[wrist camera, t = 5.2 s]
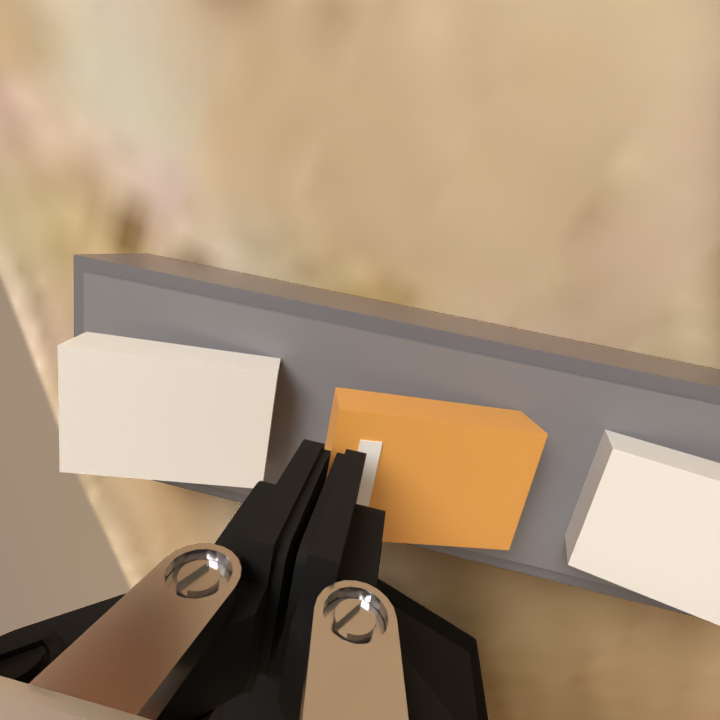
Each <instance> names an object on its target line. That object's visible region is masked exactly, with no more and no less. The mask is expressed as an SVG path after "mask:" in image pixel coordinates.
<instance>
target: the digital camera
mask: <svg viewBox="0 0 720 720" xmlns="http://www.w3.org/2000/svg"><path fill="white" fill-rule="evenodd" d="M377 589H378V590H379V591H381V592H382V593H383V594H384V595H385V596H386V597H387V598H388V599H389V601H390V603H391V604H392V606H393V607H394V610H395V614H396V617H397V623H398V632H399V640H400V649H401V652H402V654H403V655H404V656H405V657H406V659H407V660H408V661H409V662H410V663H411V665H412V666H413V667H414V668H415V670H416V671H417V672H418V673H419V675H420V676H421V677H422V678H423V680H424V681H425V682H426V683H427V685H428V686H429V687H430V688H431V690H432V691H433V692H434V693H435V695H436V696H437V697H438V698H439V700H440V701H441V702H442V703H443V705H444V706H445V707H446V708H447V710H448V711H449V712H450V713H451V715H452V716H453V717H454V718H455V720H488V716H487V709H486V702H485V696H484V689H483V682H482V676H481V669H480V662H479V656H478V649H477V643H476V640H475V639H474V638H472V637H471V636H469V635H468V634H466V633H465V632H463V631H461V630H460V629H458V628H457V627H455V626H454V625H452V624H450V623H449V622H447V621H445V620H444V619H442V618H441V617H439V616H437V615H436V614H434V613H433V612H431V611H429V610H428V609H426V608H424V607H423V606H421V605H420V604H418V603H416V602H415V601H413V600H412V599H410V598H408V597H407V596H405V595H403V594H402V593H400V592H399V591H397V590H395V589H394V588H392V587H391V586H389V585H387V584H386V583H384V582H382V581H381V580H379V579H378V580H377ZM282 637H283V636H282ZM281 642H282V638H281V641H280V644H279V647H278V650H277V653H276V655H275V658H274V661H273V664H272V667H271V670H270V672H269V675H268V677H265V676H261V675H258V677H257V680H256V682H255V685H254V688H253V690H252V693H251V694H247V693H244V692H243V693H242V694H240V695H238V696H236V697H234V698H232V699H231V700H229V701H227V702H225V703H224V708H223V711H222V713H221V716H220V718H219V720H286V719H285V717H284V715H283V713H282V711H281V709H280V707H279V705H278V703H277V701H278V695H279V689H280V683H281V681H279V680H276V679H275V678H276V672H277V666H278V660H279V654H280V648H281Z"/></svg>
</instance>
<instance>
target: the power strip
mask: <svg viewBox="0 0 720 720" xmlns="http://www.w3.org/2000/svg"><path fill="white" fill-rule="evenodd" d="M85 332H93V333H100V334H107V335H115V336H122V337H129V338H136V339H144V340H151V341H158V342H166V343H173V344H180V345H187V346H195V347H202V348H209V349H216V350H224V351H231V352H238V353H245V354H253V355H260V356H267V357H275V358H281V360H280V367H279V375H278V382H277V389H276V397H275V404H274V411H273V419H272V426H271V434H270V441H269V448H268V456H267V463H266V469H265V475H264V480H263V481H264V482H268V483H273V484H277V482H278V480H279V479H280V477H281V475H282V474H283V472H284V470H285V469H286V467H287V466H288V464H289V462H290V461H291V459H292V457H293V456H294V454H295V452H296V451H297V449H298V447H299V446H300V444H301V443H302V441H303V440H304V439H307V440H311V441H315V442H320V443H324V444H325V443H326V438H327V432H328V427H329V421H330V415H331V410H332V404H333V398H334V393H335V387H339V388H347V389H355V390H363V391H370V392H378V393H386V394H394V395H401V396H409V397H417V398H425V399H432V400H440V401H448V402H456V403H463V404H471V405H479V406H487V407H494V408H502V409H510V410H518V411H522V412H523V413H524V414H525V415H526V416H527V417H529V418H530V419H531V420H532V421H533V422H534V423H536V424H537V425H538V426H539V427H540V428H541V429H543V430H544V431H545V432H546V433H547V434H548V436H547V439H546V442H545V445H544V448H543V451H542V454H541V457H540V460H539V463H538V466H537V469H536V472H535V475H534V478H533V481H532V484H531V487H530V489H529V492H528V495H527V498H526V501H525V504H524V507H523V510H522V513H521V516H520V519H519V522H518V525H517V528H516V531H515V534H514V537H513V540H512V543H511V546H510V549H509V550H498V549H484V548H469V547H454V546H440V545H425V544H410V543H404V544H408V545H412V546H416V547H420V548H424V549H428V550H432V551H436V552H440V553H444V554H448V555H452V556H456V557H460V558H464V559H468V560H472V561H476V562H480V563H484V564H488V565H492V566H496V567H500V568H504V569H508V570H512V571H516V572H520V573H524V574H528V575H532V576H536V577H540V578H544V579H548V580H552V581H556V582H560V583H564V584H568V585H572V586H576V587H579V588H583V589H587V590H591V591H595V592H599V593H603V594H607V595H611V596H615V597H619V598H623V599H627V600H631V601H635V602H639V603H643V604H647V605H651V606H655V607H659V608H663V609H667V610H671V611H675V612H679V613H683V614H687V615H691V616H694V615H692V614H689V613H687V612H684V611H682V610H679V609H677V608H674V607H672V606H669V605H667V604H664V603H662V602H659V601H657V600H654V599H652V598H649V597H647V596H644V595H642V594H639V593H637V592H634V591H632V590H629V589H627V588H624V587H622V586H619V585H617V584H614V583H612V582H609V581H607V580H605V579H602V578H600V577H597V576H595V575H592V574H590V573H587V572H585V571H582V570H580V569H577V568H575V567H572V566H570V565H568V562H567V552H566V542H565V533H566V531H567V528H568V526H569V523H570V520H571V518H572V515H573V512H574V510H575V507H576V504H577V502H578V499H579V496H580V494H581V491H582V488H583V486H584V483H585V480H586V478H587V475H588V473H589V470H590V467H591V465H592V462H593V459H594V457H595V454H596V451H597V449H598V446H599V443H600V441H601V438H602V435H603V433H604V430H609V431H612V432H616V433H619V434H622V435H626V436H629V437H633V438H636V439H640V440H643V441H646V442H650V443H653V444H657V445H660V446H663V447H667V448H670V449H674V450H677V451H680V452H684V453H687V454H691V455H694V456H697V457H701V458H704V459H708V460H711V461H714V462H718V463H720V370H719V369H714V368H709V367H704V366H699V365H694V364H689V363H684V362H679V361H674V360H669V359H665V358H660V357H655V356H650V355H645V354H640V353H635V352H630V351H625V350H620V349H615V348H610V347H605V346H600V345H595V344H590V343H586V342H581V341H576V340H571V339H566V338H561V337H556V336H551V335H546V334H541V333H536V332H531V331H526V330H521V329H516V328H512V327H507V326H502V325H497V324H492V323H487V322H482V321H477V320H472V319H467V318H462V317H457V316H452V315H447V314H442V313H438V312H433V311H428V310H423V309H418V308H413V307H408V306H403V305H398V304H393V303H388V302H383V301H378V300H373V299H368V298H364V297H359V296H354V295H349V294H344V293H339V292H334V291H329V290H324V289H319V288H314V287H309V286H304V285H299V284H294V283H289V282H285V281H280V280H275V279H270V278H265V277H260V276H255V275H250V274H245V273H240V272H235V271H230V270H225V269H220V268H215V267H211V266H206V265H201V264H196V263H191V262H186V261H181V260H176V259H171V258H166V257H161V256H156V255H151V254H74V337H76V336H78V335H80V334H83V333H85ZM324 449H325V447H324ZM154 481H158V482H162V483H166V484H170V485H174V486H178V487H181V488H185V489H189V490H193V491H197V492H201V493H205V494H209V495H213V496H217V497H221V498H225V499H229V500H233V501H237V502H241V503H243V502H244V501H245V499H246V498H247V497H248V495H249V494H250V492H251V491H252V489H253V488H243V487H231V486H219V485H208V484H196V483H184V482H173V481H161V480H154ZM695 617H697V616H695Z"/></svg>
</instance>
